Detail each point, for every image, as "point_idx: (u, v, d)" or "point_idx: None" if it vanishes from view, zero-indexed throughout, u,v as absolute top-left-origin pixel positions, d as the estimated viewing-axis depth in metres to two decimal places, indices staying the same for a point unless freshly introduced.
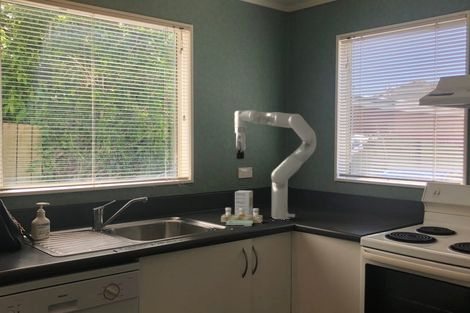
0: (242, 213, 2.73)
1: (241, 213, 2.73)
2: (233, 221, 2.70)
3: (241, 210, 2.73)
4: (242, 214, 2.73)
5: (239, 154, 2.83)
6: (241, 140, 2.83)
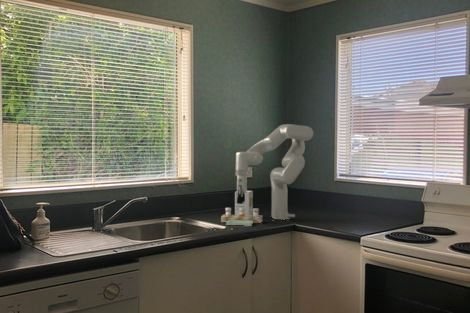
0: (242, 213, 2.73)
1: (241, 213, 2.73)
2: (233, 221, 2.70)
3: (241, 210, 2.73)
4: (242, 214, 2.73)
5: (240, 198, 2.68)
6: (242, 183, 2.69)
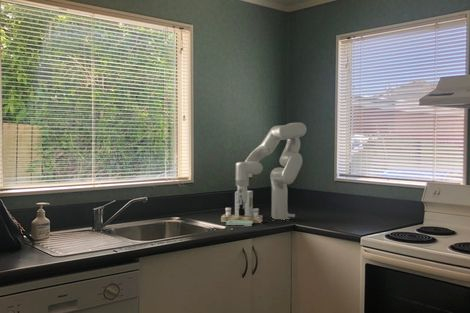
0: None
1: None
2: (233, 221, 2.70)
3: None
4: None
5: (241, 210, 2.72)
6: (243, 194, 2.69)
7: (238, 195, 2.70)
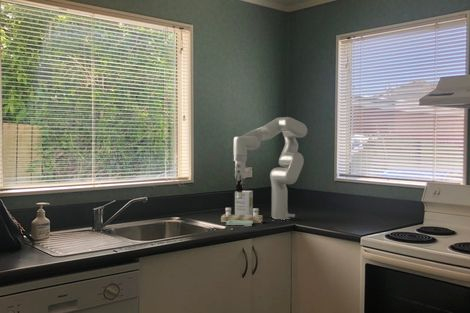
0: None
1: None
2: (233, 221, 2.70)
3: None
4: None
5: (239, 186, 2.62)
6: (241, 169, 2.60)
7: (236, 170, 2.60)
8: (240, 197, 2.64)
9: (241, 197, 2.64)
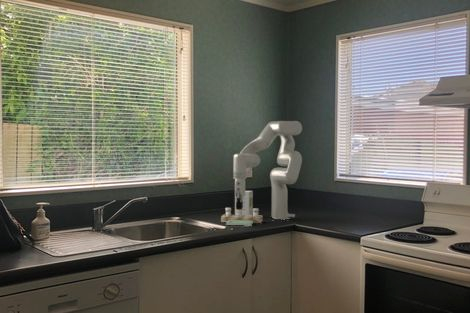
0: None
1: None
2: (233, 221, 2.70)
3: None
4: None
5: (239, 204, 2.62)
6: (240, 187, 2.60)
7: (236, 188, 2.60)
8: (240, 214, 2.63)
9: (241, 214, 2.64)
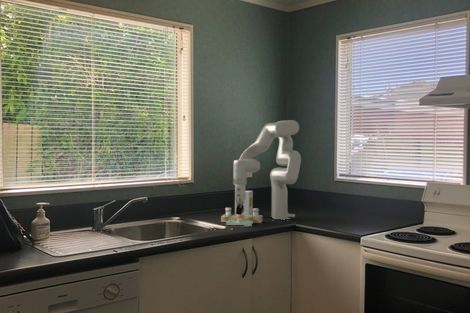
0: (239, 215, 2.64)
1: (238, 215, 2.64)
2: (233, 221, 2.70)
3: None
4: (239, 216, 2.64)
5: (239, 209, 2.60)
6: (241, 193, 2.60)
7: (236, 194, 2.60)
8: None
9: None
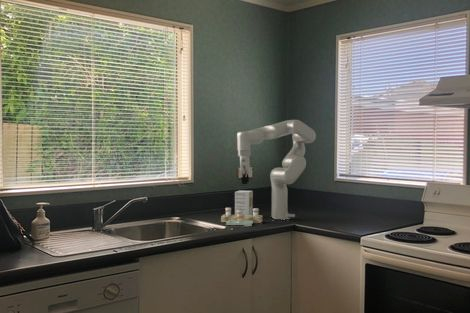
0: (240, 215, 2.64)
1: (239, 215, 2.64)
2: (233, 221, 2.70)
3: (239, 212, 2.64)
4: (240, 216, 2.64)
5: (244, 179, 2.66)
6: (246, 164, 2.67)
7: (241, 165, 2.67)
8: None
9: None
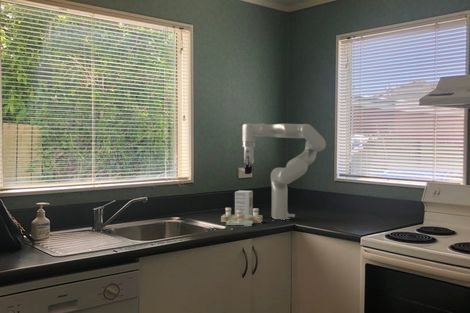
0: (240, 215, 2.64)
1: (239, 215, 2.64)
2: (233, 221, 2.70)
3: (239, 212, 2.64)
4: (240, 216, 2.64)
5: (247, 169, 2.74)
6: (249, 154, 2.75)
7: (245, 155, 2.75)
8: None
9: None
